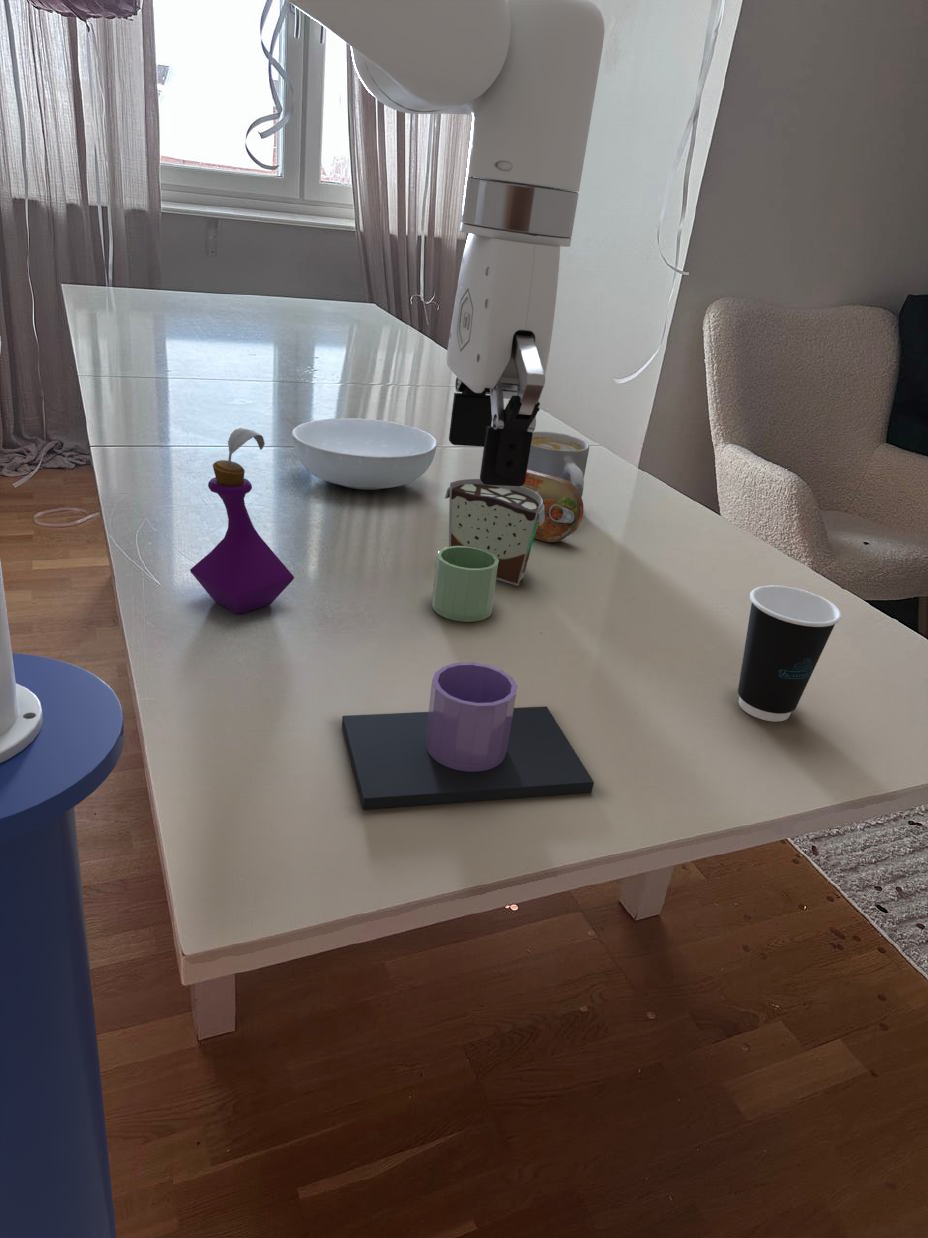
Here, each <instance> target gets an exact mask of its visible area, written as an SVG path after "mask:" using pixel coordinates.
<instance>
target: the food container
mask: <svg viewBox="0 0 928 1238" xmlns="http://www.w3.org/2000/svg"><path fill="white" fill-rule="evenodd" d="M444 499H445V500H448V499H449V507H448V508H449V509H448V510H449V511H448V514H449V515H448V547H451V546H470V547H476V548H480V549H483V550H486V551H489V552H491V553H492V554H494V555H496V557H497V558H498V559H499V565H498V572H497V579H496V581H500V582H502V583H503V582H504V583H507V584H510V585H513V586H516V587H519V586H521V585H522V583H523V580H524V577H525V573H526V568H527V565H528V562H529V559H530V554H531V551H532V547H533V543H534V539H535V538H534V536H535V532H536V528H537V525H538V521H539V525H542V524H543V522H544V521H545V513H544V504H543V500H542V498H541V497H540V495H538V494H537V493H536V492H534V491H532V490H530V489H528V488H525V487H523V486H502V485H485V484H483V483H482V481H481V480H480V478H465V479H458V480H454V481H452V482H450V483H449V486H448V487H447V489H446V492H445V496H444Z"/></svg>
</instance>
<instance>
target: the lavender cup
mask: <svg viewBox="0 0 928 1238" xmlns="http://www.w3.org/2000/svg"><path fill="white" fill-rule="evenodd" d="M517 690H518V685H517V683H516V681H515V679H514V678H513V677H512V676H511V675H509V674H508V673H507V672H506V671H504V670H503V669H500V668H497V667H495V666H492V665H489V664H486V663H478V662H474V661H473V662H472V661H470V662H469V661H467V662H466V661H465V662H454V663H450V664H446V665H443V666H442V667H441V668H439V669H438V670H436V671H435V672H434V674H433V677H432V679H431V686H430V695H429V704H428V712H429V713H428V722H427V731H426V749H427V751H428V753H429V754H430V756H431V757H432V758H433V759H434V760H436V761H437V762H439V763H440V764H442V765H444V766H446V767H449V768H452V769H455V770H460V771H467V772H478V771H485V770H489V769H492V768H494V767H496V766H498V765H499V764H501V763H502V762H503V760H504V759H505V757H506V754H507V748H508V741H509V735H510V729H511V723H512V717H513V710H514V708H515V704H516V696H517V692H518V691H517Z"/></svg>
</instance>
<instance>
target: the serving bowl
mask: <svg viewBox="0 0 928 1238" xmlns="http://www.w3.org/2000/svg"><path fill="white" fill-rule="evenodd" d="M291 437H292V444H293V450H294V452H295V455H296V457H297V459H298V461H299V462H300V464H302V466H303V467H304V468H305V469H306V470H307V471H308V472H309V473H311V474H312V475H313V476H315V477H317V478H319V479H321V480H323V481H325V482H328V483H331V484H334V485H338V486H341V487H344V488H349V489H353V490H361V491H363V490H364V491H379V490H384V489H390V488H396V487H401V486H404V485H407V484H410V483H412V482H414V481H416V480H417V479H419V478H420V477H422V475H424V474H425V473H426V471H427V470H428V469H429V468H430V467H431V465H432V463H433V461H434V458H435V454H436V451H437V447H438V441H437V439H436V438H435V437H434V436H433V435H432V434H430V433H429V432H427V431H424V430H422V429H420V428H417V427H413V426H410V425H407V424H402V423H398V422H393V421H387V420H380V419H373V418H370V419H369V418H358V417H357V418H356V417H355V418H353V417H351V418H349V417H339V418H324V419H317V420H311V421H307V422H303V423H301V424H298V425H297V426H296V427H294V428H293V429H292V431H291Z"/></svg>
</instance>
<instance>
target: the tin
mask: <svg viewBox="0 0 928 1238" xmlns="http://www.w3.org/2000/svg"><path fill="white" fill-rule="evenodd" d="M522 486H523V487H525V488H528V489H530V490H532V491H534V492H536V493H537V494H538V495H540V497H541V498H542V500H543V504H544V513H545V521H544V522H543V524H542V525H539V521H538V525H537V528H536V532H535V536H534V539H535V540H538V541H541V542H545V543H557V542H560V541H563V540H565V539H566V538H567V537H569V536H571V535H572V534H574V533H575V532H576V531H577V530H578V528H579V527H580V525H581V524H582V520H583V517H584V502H583V501H584V499H583V496H582V497H581V495H580V493H579V492H578V490H577V489H576V487H575V486H574V485H573V484H571V483H570V482H568V481H567V480H565V479H562V478H558V477H554V476H550V475H546V474H542V473H538V472H535V471H531V470H527V473H526V479H525V483H524V484H523V485H522Z"/></svg>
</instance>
